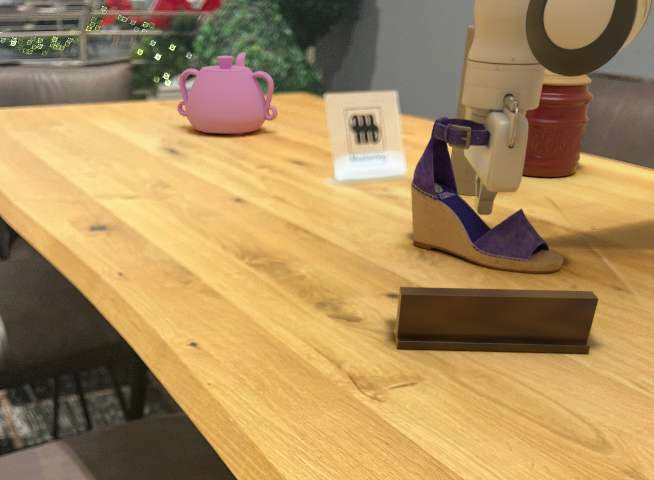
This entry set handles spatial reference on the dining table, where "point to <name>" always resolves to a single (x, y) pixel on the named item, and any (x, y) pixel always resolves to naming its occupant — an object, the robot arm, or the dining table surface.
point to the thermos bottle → (460, 164)
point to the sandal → (469, 210)
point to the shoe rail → (494, 319)
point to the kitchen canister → (557, 126)
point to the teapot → (226, 98)
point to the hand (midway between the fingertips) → (482, 212)
